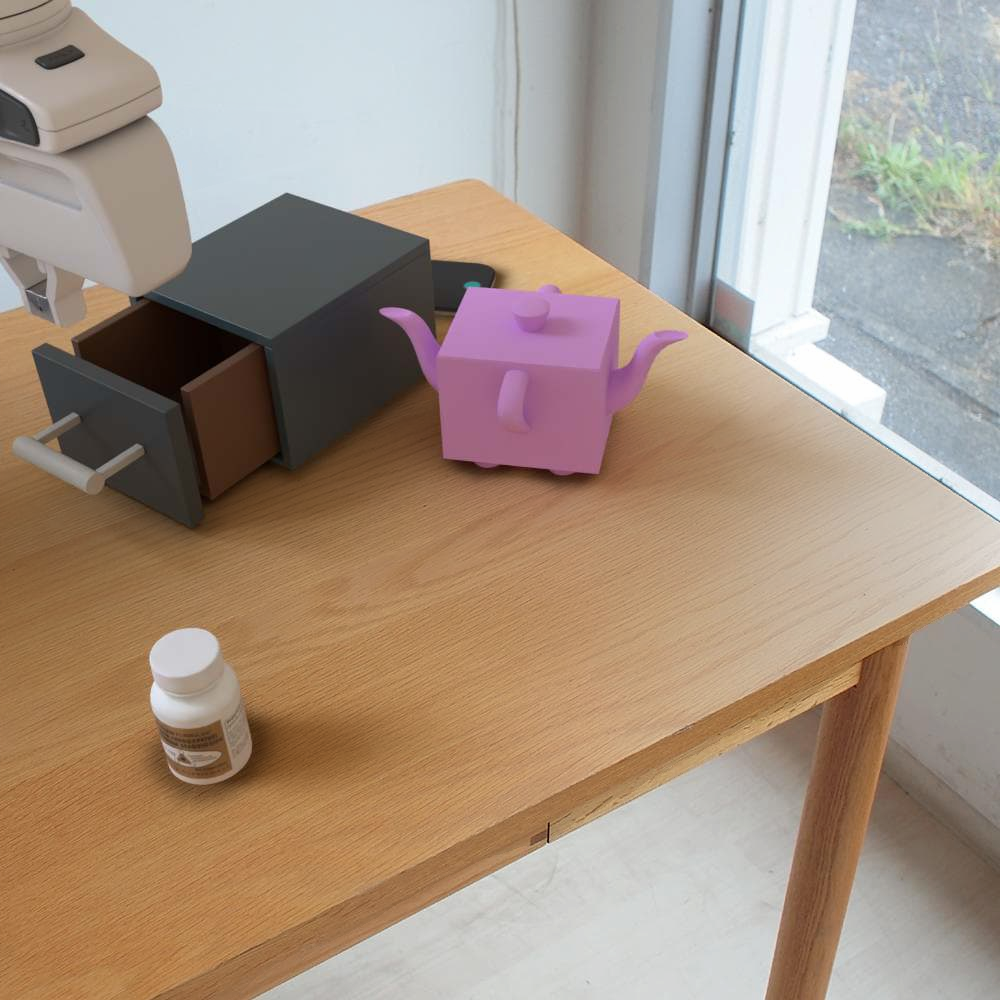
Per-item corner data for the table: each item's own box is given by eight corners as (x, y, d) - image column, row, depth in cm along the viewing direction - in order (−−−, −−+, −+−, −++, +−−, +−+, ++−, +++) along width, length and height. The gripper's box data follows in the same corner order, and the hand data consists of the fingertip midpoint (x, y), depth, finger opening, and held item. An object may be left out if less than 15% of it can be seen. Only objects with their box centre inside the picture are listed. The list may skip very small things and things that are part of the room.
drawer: (134, 570, 80) (102, 453, 74) (5, 498, 86) (-33, 384, 80) (346, 417, 92) (331, 306, 86) (220, 363, 97) (199, 257, 92)
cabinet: (293, 475, 88) (271, 339, 81) (155, 410, 95) (124, 279, 88) (439, 368, 98) (429, 239, 91) (304, 316, 104) (286, 191, 98)
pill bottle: (154, 781, 68) (123, 676, 63) (189, 718, 71) (162, 614, 67) (234, 796, 67) (208, 690, 62) (266, 731, 70) (243, 627, 66)
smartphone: (479, 311, 102) (294, 296, 105) (480, 321, 102) (296, 306, 105) (499, 263, 108) (324, 251, 110) (500, 273, 108) (325, 260, 111)
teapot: (576, 365, 97) (577, 231, 91) (682, 458, 88) (692, 317, 81) (389, 429, 92) (375, 291, 85) (482, 535, 83) (474, 391, 76)
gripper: (-202, 40, 65) (-110, 289, 73) (73, 127, 55) (142, 402, 63) (-90, 3, 68) (-15, 243, 77) (184, 77, 59) (235, 343, 67)
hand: (58, 316), depth 70 cm, fingers closed
